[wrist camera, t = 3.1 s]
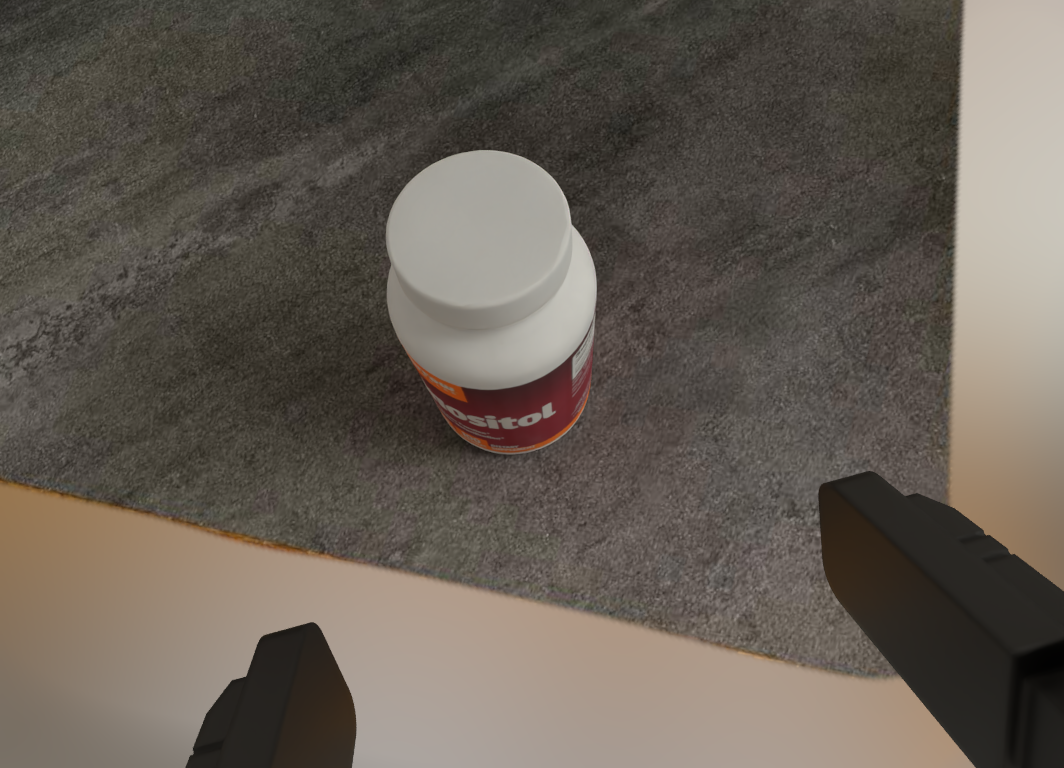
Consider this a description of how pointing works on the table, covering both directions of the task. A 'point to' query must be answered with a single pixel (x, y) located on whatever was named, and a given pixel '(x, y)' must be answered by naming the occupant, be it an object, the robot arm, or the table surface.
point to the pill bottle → (493, 298)
